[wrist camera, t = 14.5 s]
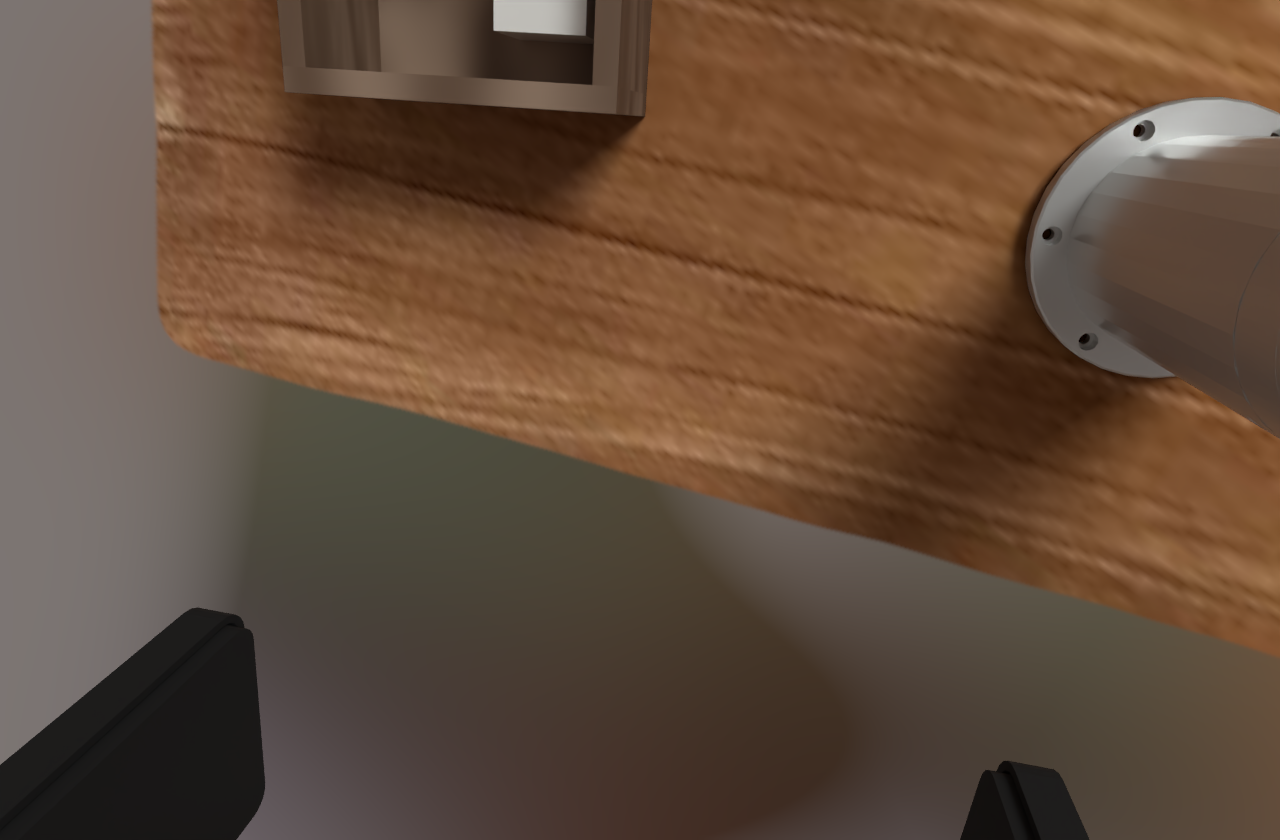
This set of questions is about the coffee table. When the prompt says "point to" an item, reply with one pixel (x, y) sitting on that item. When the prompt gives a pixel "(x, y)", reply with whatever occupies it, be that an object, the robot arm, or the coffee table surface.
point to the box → (463, 55)
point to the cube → (546, 20)
